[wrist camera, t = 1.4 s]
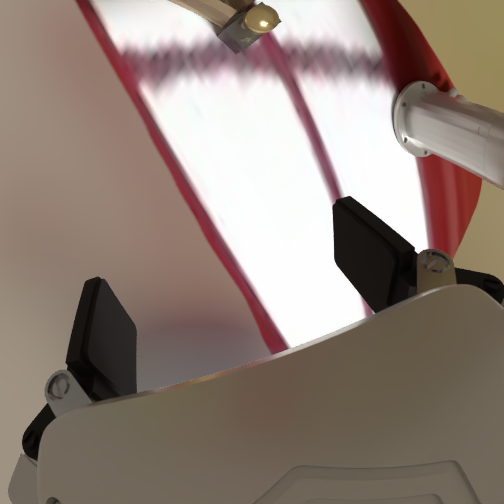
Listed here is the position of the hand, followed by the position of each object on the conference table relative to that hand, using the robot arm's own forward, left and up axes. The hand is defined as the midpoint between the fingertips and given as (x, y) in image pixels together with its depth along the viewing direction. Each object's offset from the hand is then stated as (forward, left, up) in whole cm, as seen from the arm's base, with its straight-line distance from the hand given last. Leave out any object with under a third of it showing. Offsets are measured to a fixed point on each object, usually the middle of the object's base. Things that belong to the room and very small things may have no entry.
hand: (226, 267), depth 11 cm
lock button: (-14, -5, -19) cm, 24 cm away
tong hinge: (-14, -5, -24) cm, 28 cm away
